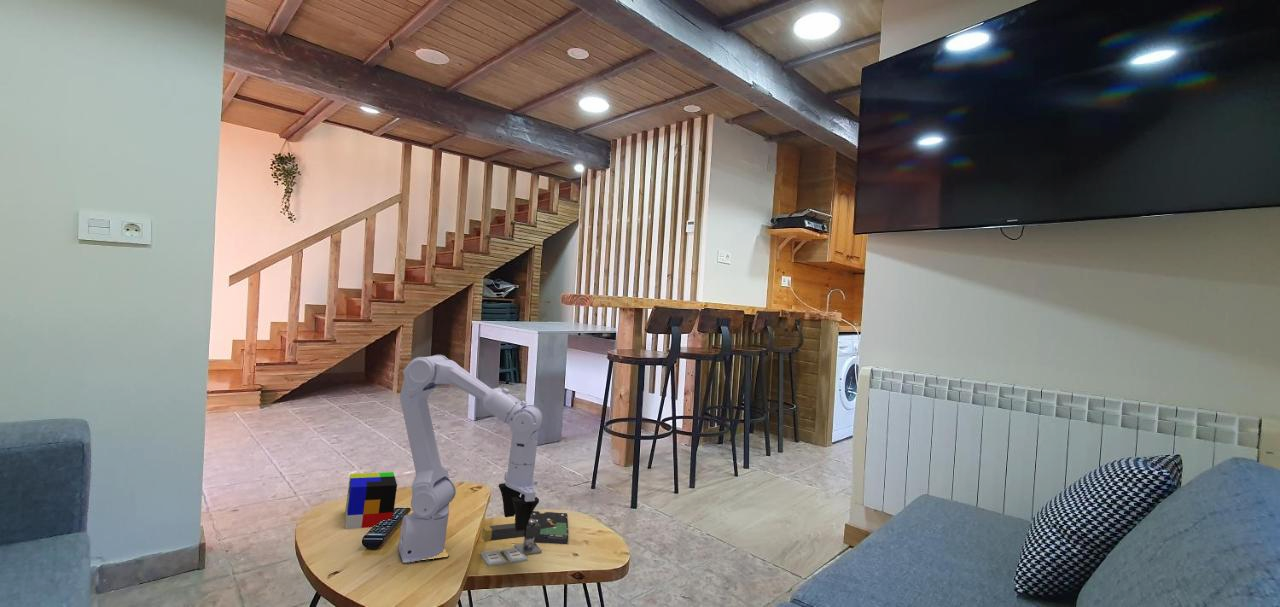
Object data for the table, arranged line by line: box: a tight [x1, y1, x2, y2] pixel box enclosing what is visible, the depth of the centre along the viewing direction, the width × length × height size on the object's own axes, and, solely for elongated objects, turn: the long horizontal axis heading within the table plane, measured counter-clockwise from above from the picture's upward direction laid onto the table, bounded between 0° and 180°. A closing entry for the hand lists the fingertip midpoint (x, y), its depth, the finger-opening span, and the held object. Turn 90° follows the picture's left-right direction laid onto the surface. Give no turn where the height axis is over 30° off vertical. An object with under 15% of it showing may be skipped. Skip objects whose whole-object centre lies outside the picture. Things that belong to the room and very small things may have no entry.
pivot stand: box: [513, 519, 543, 556], centre depth 125 cm, size 5×5×7 cm
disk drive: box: [530, 510, 569, 545], centre depth 137 cm, size 10×3×15 cm
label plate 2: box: [501, 547, 528, 564], centre depth 122 cm, size 4×6×1 cm, turn 32°
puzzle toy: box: [344, 471, 398, 530], centre depth 131 cm, size 10×10×10 cm
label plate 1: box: [480, 549, 507, 567], centre depth 119 cm, size 4×6×1 cm, turn 32°
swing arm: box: [481, 520, 541, 543], centre depth 123 cm, size 13×4×2 cm, turn 122°
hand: (514, 522), depth 117 cm, fingers open, 7 cm apart
